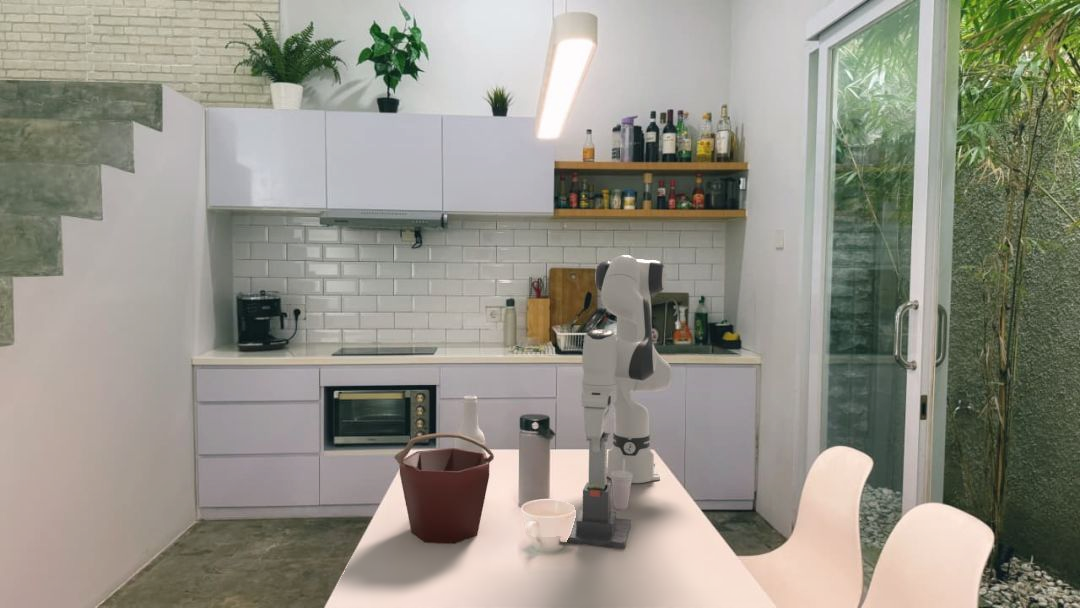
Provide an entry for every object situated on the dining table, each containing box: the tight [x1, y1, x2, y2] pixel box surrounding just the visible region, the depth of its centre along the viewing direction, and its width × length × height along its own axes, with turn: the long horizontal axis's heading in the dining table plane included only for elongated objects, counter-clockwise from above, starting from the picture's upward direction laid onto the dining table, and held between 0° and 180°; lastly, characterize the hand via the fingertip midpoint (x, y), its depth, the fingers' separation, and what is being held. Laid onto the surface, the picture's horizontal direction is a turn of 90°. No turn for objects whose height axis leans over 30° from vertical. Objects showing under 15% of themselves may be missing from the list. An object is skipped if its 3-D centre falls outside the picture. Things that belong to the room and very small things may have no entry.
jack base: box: [566, 481, 632, 550], centre depth 175 cm, size 16×16×12 cm
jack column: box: [586, 432, 611, 491], centre depth 174 cm, size 5×5×18 cm
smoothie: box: [610, 459, 633, 511], centre depth 194 cm, size 6×6×14 cm
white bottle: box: [454, 395, 486, 453], centre depth 200 cm, size 9×9×30 cm
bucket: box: [394, 432, 495, 545], centre depth 175 cm, size 24×22×25 cm
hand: (598, 448), depth 174 cm, fingers open, 5 cm apart
